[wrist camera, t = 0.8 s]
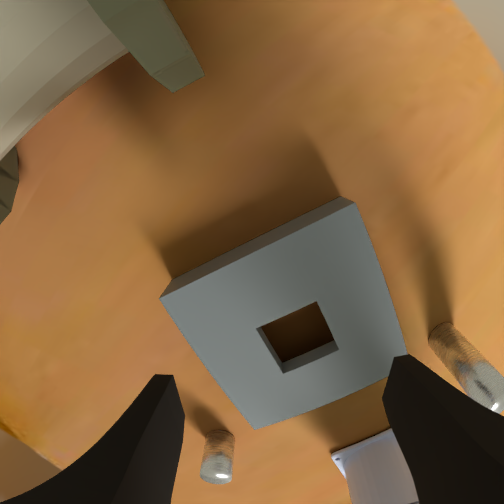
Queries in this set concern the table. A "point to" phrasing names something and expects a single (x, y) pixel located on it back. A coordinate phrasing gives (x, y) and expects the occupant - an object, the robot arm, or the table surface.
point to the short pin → (218, 457)
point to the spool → (76, 60)
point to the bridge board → (283, 303)
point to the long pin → (468, 367)
